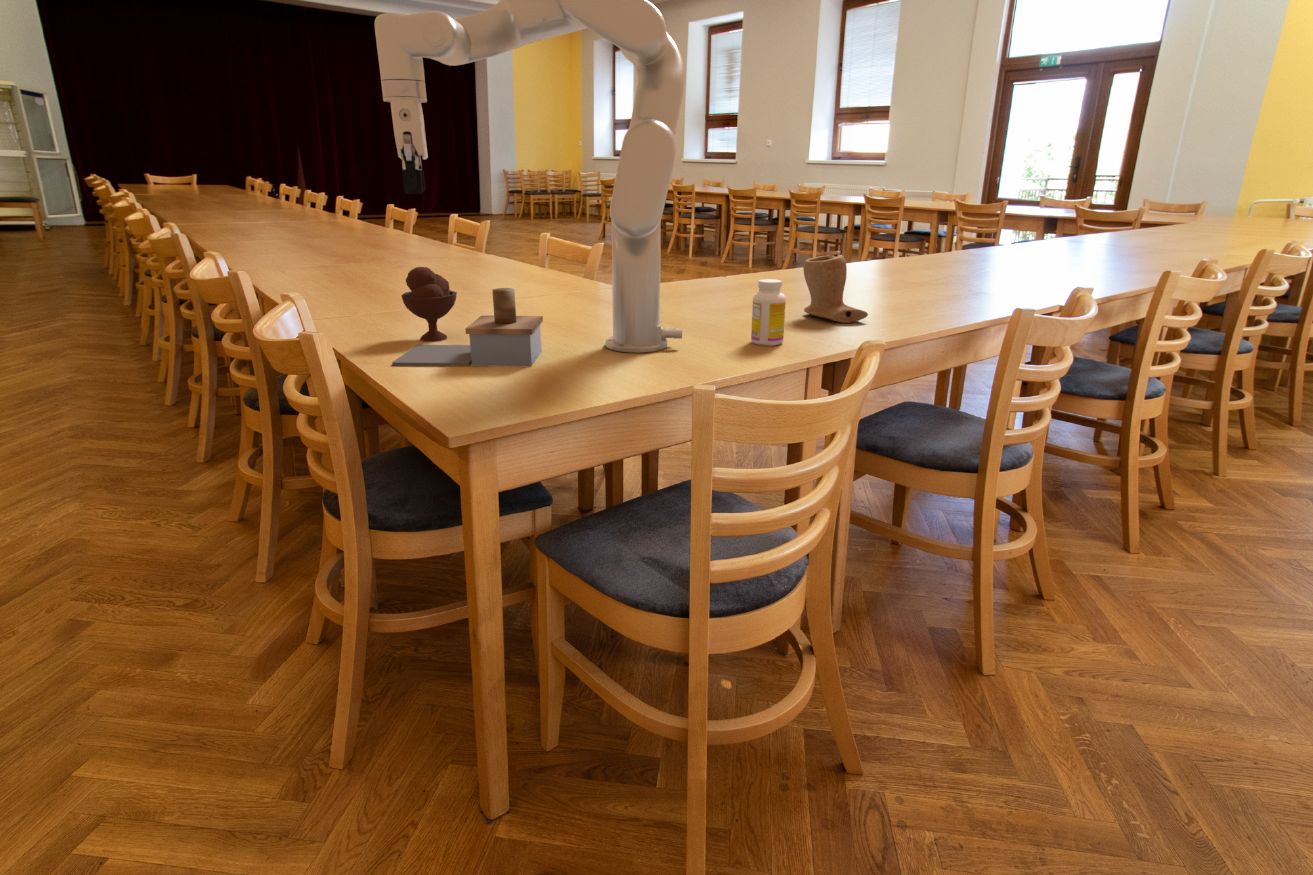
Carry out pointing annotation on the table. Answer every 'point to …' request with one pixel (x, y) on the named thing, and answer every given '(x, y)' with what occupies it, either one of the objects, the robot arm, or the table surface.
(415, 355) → the mat
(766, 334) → the supplement bottle
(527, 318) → the lid
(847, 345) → the table surface
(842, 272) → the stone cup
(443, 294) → the ice cream bowl
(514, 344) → the open box
